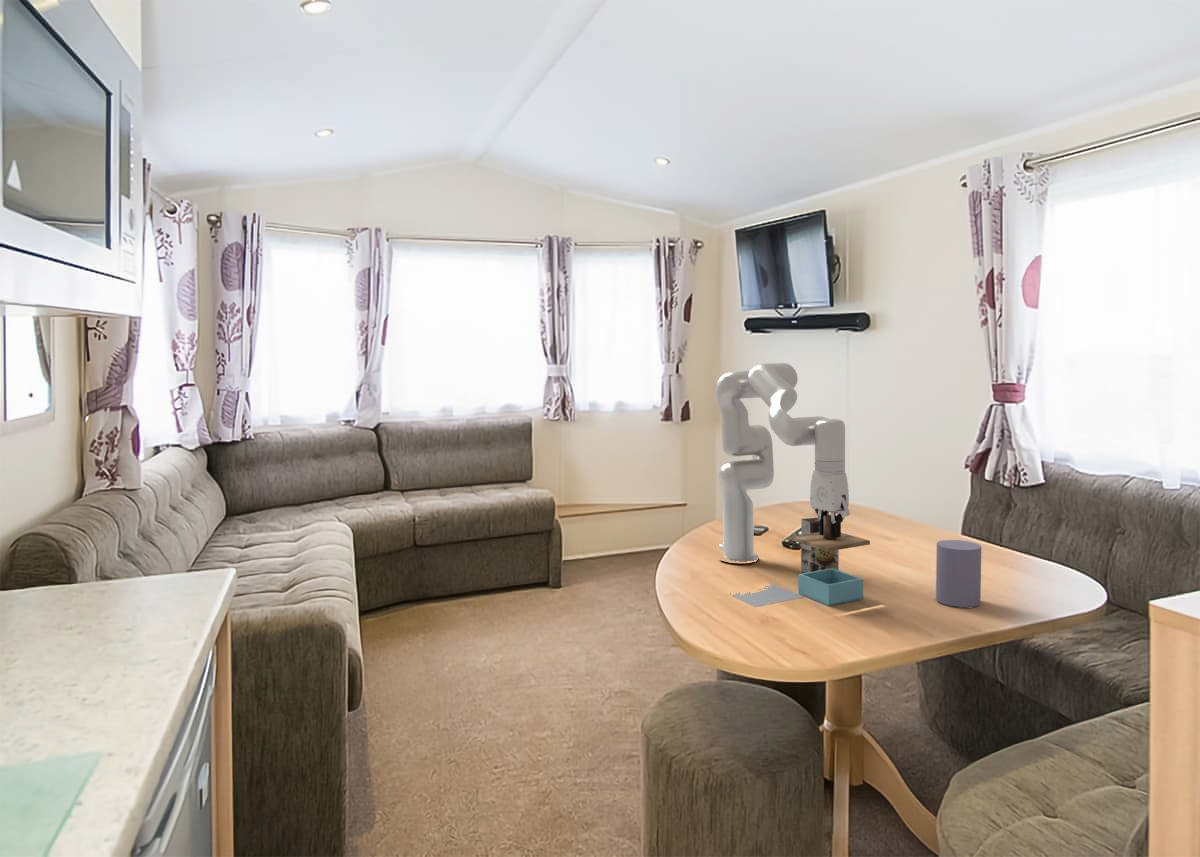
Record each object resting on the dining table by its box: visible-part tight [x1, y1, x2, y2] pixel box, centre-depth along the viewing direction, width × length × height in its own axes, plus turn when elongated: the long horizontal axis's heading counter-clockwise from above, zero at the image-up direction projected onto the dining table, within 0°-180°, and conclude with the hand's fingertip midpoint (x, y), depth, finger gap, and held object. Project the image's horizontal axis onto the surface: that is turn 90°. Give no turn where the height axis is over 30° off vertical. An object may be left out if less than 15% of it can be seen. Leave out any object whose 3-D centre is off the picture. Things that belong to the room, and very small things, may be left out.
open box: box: [797, 568, 864, 607], centre depth 199 cm, size 12×12×6 cm
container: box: [935, 539, 982, 608], centre depth 193 cm, size 10×10×15 cm
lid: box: [790, 514, 871, 552], centre depth 198 cm, size 14×14×7 cm
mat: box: [729, 583, 805, 608], centre depth 203 cm, size 16×16×1 cm
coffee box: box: [800, 517, 840, 573], centre depth 223 cm, size 9×6×16 cm
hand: (830, 535), depth 198 cm, fingers closed on lid, 3 cm apart
